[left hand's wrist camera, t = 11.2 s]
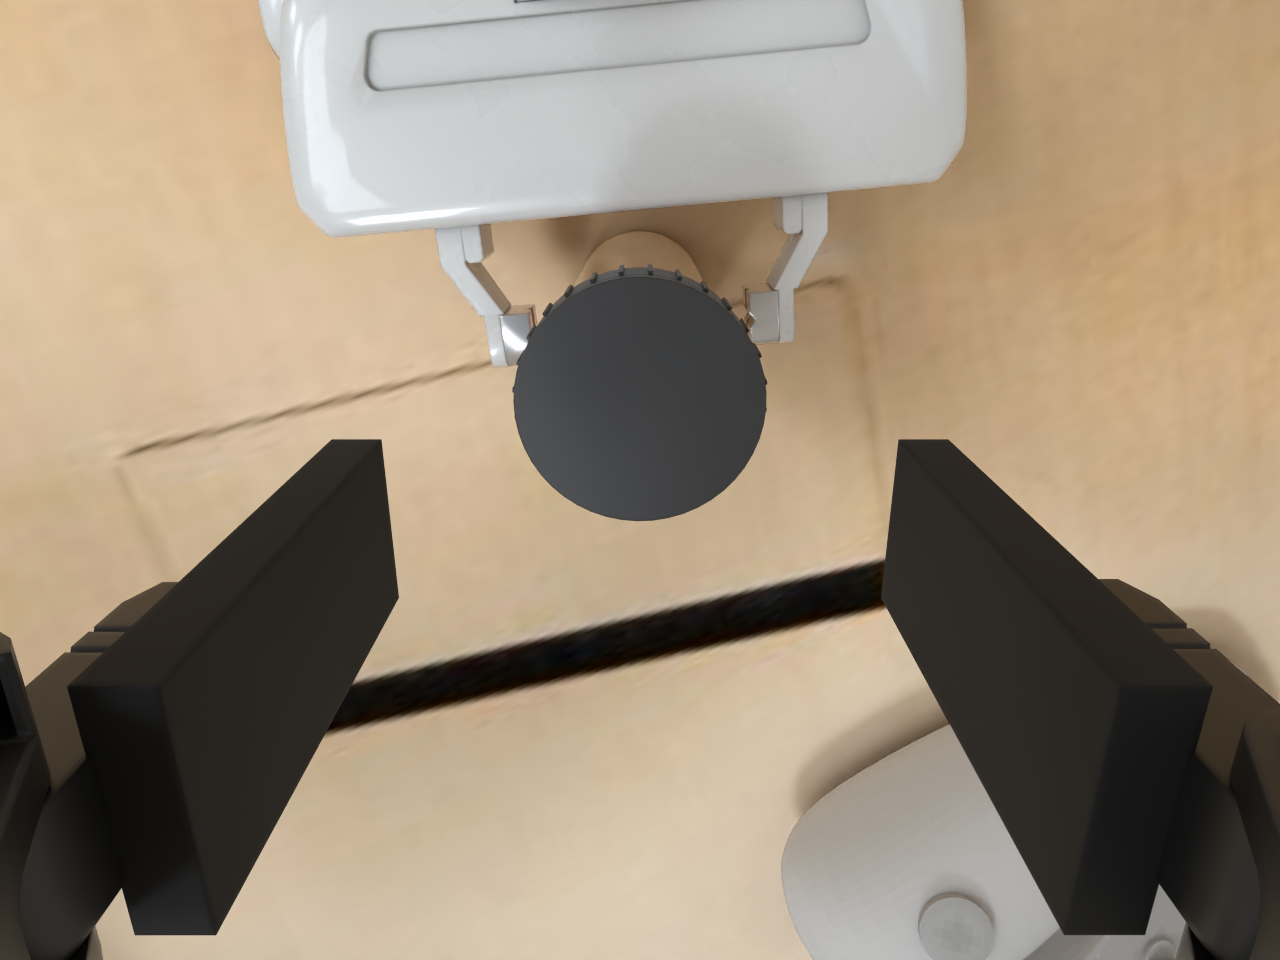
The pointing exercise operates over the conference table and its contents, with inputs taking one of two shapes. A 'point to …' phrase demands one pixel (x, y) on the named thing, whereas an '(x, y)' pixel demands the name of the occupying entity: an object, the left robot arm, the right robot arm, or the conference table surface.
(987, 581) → the left robot arm
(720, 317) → the lid
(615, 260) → the jar
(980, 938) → the projector
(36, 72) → the conference table surface
